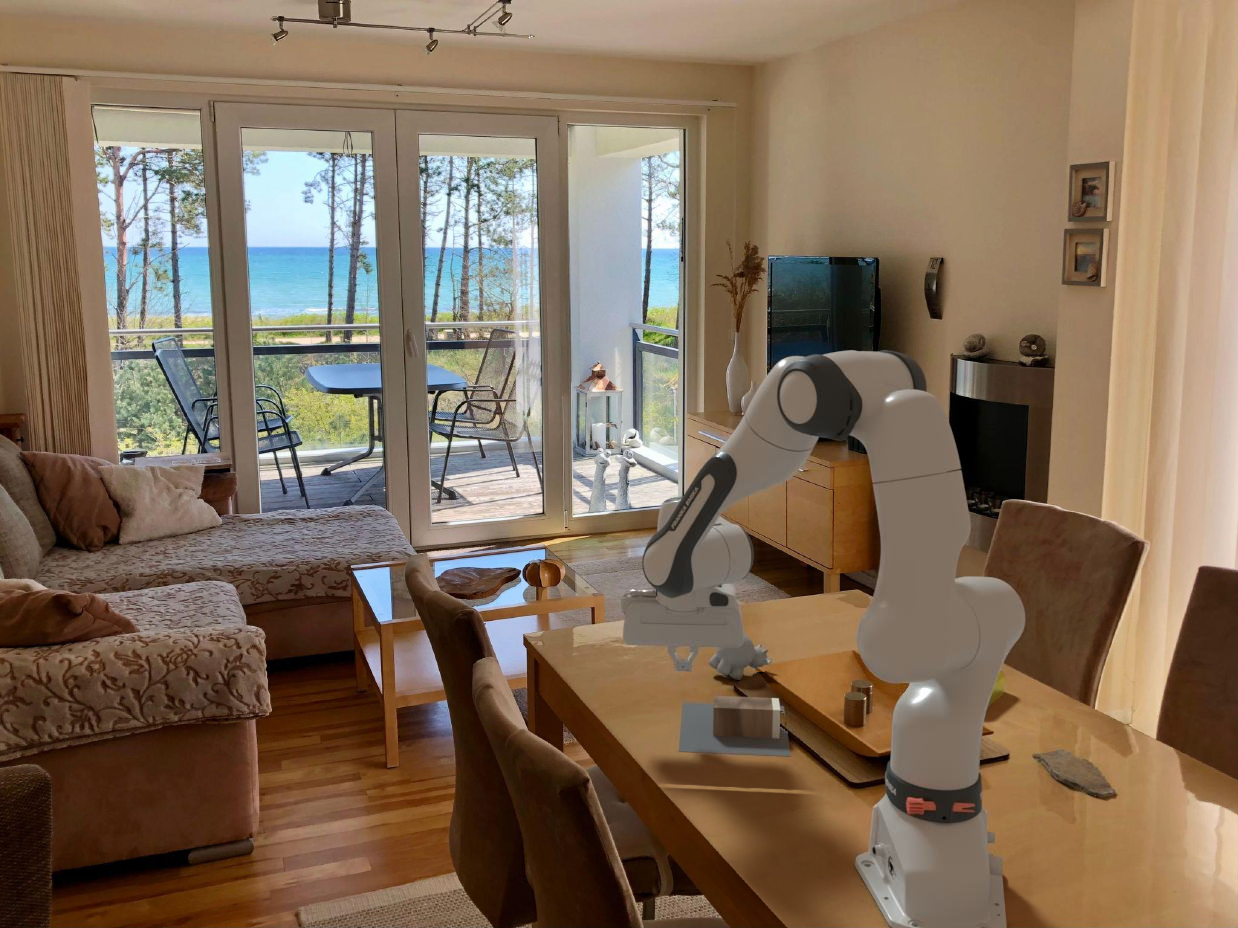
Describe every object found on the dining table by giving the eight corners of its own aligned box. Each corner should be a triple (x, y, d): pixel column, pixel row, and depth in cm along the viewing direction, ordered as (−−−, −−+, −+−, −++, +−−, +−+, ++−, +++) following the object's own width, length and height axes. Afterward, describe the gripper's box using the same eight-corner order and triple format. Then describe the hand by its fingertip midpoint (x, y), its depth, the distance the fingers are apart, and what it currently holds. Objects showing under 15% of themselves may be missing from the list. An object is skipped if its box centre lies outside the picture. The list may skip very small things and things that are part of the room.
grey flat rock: (1069, 754, 180) (1070, 744, 180) (1125, 800, 165) (1126, 789, 165) (1024, 756, 179) (1025, 746, 179) (1076, 803, 164) (1077, 792, 163)
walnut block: (713, 735, 184) (779, 738, 183) (713, 707, 183) (780, 710, 182) (713, 723, 189) (777, 725, 188) (713, 695, 188) (778, 698, 187)
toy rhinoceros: (770, 692, 210) (787, 651, 210) (716, 676, 206) (733, 634, 206) (754, 678, 217) (771, 638, 216) (702, 662, 213) (719, 622, 212)
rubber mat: (790, 759, 177) (790, 756, 177) (678, 754, 178) (678, 751, 178) (783, 708, 196) (783, 706, 196) (682, 704, 198) (682, 702, 198)
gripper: (619, 595, 180) (619, 675, 183) (744, 597, 178) (743, 678, 181) (622, 584, 186) (623, 661, 189) (744, 586, 184) (743, 665, 187)
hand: (683, 670), depth 185 cm, fingers closed
